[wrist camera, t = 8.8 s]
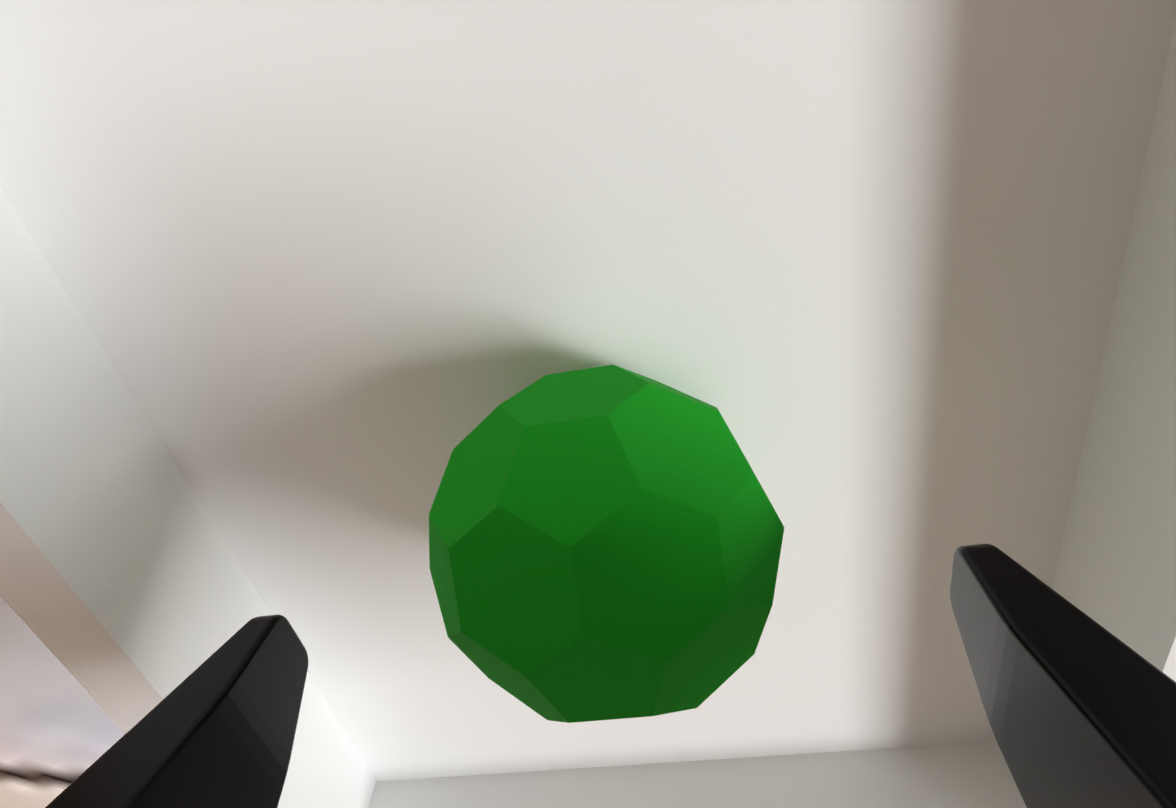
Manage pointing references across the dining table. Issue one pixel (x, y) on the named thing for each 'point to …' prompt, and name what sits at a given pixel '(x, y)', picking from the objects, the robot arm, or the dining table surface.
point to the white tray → (585, 352)
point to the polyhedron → (604, 547)
